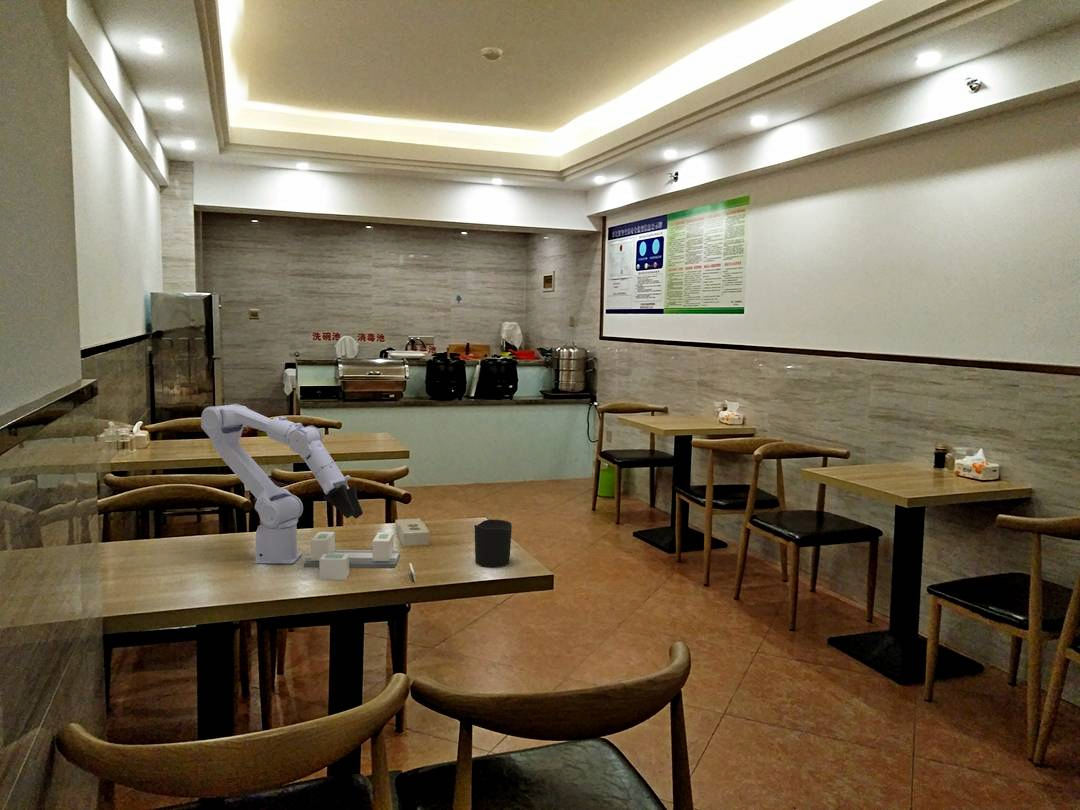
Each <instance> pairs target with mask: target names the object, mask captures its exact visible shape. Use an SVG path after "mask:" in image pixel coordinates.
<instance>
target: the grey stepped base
mask: <svg viewBox="0 0 1080 810" xmlns="http://www.w3.org/2000/svg"><path fill="white" fill-rule="evenodd" d="M335 535H336V532H335V531H318V532H317V533H316V535H314V536H313V537H312V538H311V540H310V554H309V555H308V556H306V557H305V561H304V562H303V568H319V559H320V558H321V557H322V555H323V554H349V569H351V568H352V569H353V568H354V569H355V568H357V569H358V568H360V569H361V568H362V569H363V568H366V569H367V568H368V569H371V568H372V569H375V568H376V569H377V568H378V569H395V568H396V566H397V563H398V561H399V559H400V556H401V551H400V550H396V549H395V545H394V543H395V542H394V540H395V537H394V536H395V532H389V531H388V532H384V531H383V532H380V531H378V532H377V533H376V535H375V536H374V538H373V540H372V549H336V541H335V540H336V536H335Z"/></svg>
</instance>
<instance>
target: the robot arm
mask: <svg viewBox="0 0 1080 810" xmlns="http://www.w3.org/2000/svg"><path fill="white" fill-rule="evenodd" d="M200 417H201V418H200V421H201V422H200V428H201V429H202V430H203V432H205V434H206V435H207V436H208V438H209V440H210V441H211V444H212V446H213V449H214V450H215V452H216V453H217V455H219V457H220V458H221V459H222V461H223V462H225V464H226V465H227V466H228V467H229V469H230V470H232V472H233V473H234V474H235V476H237V478H238V480H240V481H241V482H242V483H243V485H244V486H245V487H246V488H247V490H248V491H250V493H251V494H252V495H253V496H254V497H255V499H256V501H255V503H254V510H255V511H256V512H257V513H258V516H259V519H260V522H261V523H262V524H259V525H258V526H257V529H256V532H255V561H254V563H255V564H273V565H274V564H277V565H278V564H285V565H287V564H288V565H289V564H295V562H296V561H297V560H298V559H299V558H300V557H301V556H302V555H303V553H302V552H298V541H297V539H298V538H297V535H298V533H297V532H298V530H297V527H298V526H297V523H299V518H300V517H301V516H302V514H303V511H304V506H303V502H302V500H301V499H300V498H299V497H298V496H296V495H294V494H292V493H291V492H290V491H289V490H288V489H286V488H283V487H280V486H277V485H276V484H275V483H274V481H272V480H271V478H270V477H269V476H268V475H267V473H266V472H264V470H263V469H262V468H261V467H260V466H259V465H258V463H257V462H256V461H255V460H254V459H253V457H252V456H251V455H250V454H249V453H248V452H247V451H246V450H245V448H243V446H242V445H241V444H240V443H239V441H240V439H241V437H242V434H243V431H244V427H245V426H246V427H249V428H253V429H255V430H259V431H262V432H264V433H266V435H267V437H268V438H269V440H273V441H275V442H278V443H280V444H283V445H286V446H288V447H289V449H290V450H291V452H294V453H295V454H298V455H299V456H300V458H301V459H303V461H304V462H305V463H306V466H308V468H309V470H310V471H311V473H312V475H313V476H314V478H315V479H316V481H317V483H318V484H319V485H320V487H321V488H322V490H323V493H324V495H323V497H322V499H323V500H324V501H326V502H328V503H329V504H331V505H332V506H333V507H334V508H336V509H337V511H338V512H340V514H341V515H342V516H343V517H344V518H345V519H349V518H351V517H353V518H354V519H358V518H359V517H361V516H363V515H364V512H363V509H362V506H361V505H360V501H359V499H358V494H357V493H358V492H357V487H356V486H355V485H352V486H351V487H349V485H348V480H350V479H351V478H352V477H351V476H350V475H348V474H347V475H345V476H344V474H343V473H342V471H341V470H340V468H339V467H338V465H337V464H336V462H335V461H334V459H333V458H332V456H331V455H330V453H329V451H328V450H327V448H326V447H325V446H324V443H323V435H322V432H321V430H320V429H318V427H315V426H314V425H307V426H304V425H303V423H301V422H293V421H291V420H288V418H287V416H284V415H282V416H275V417H274V418H269V417H267V416H265V415H263V414H261V413H258V412H256V411H255V410H252V409H250V408H248V407H247V406H245V405H241V404H239V403H231V404H226V405H218V406H217V405H216V406H208V407H205V408H204V409H203V411H202V413H201V416H200Z"/></svg>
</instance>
